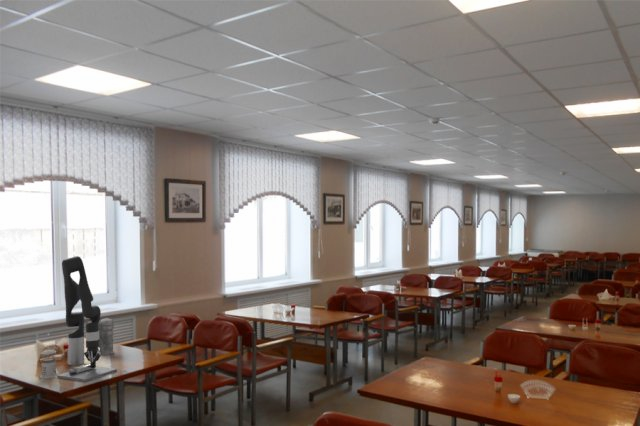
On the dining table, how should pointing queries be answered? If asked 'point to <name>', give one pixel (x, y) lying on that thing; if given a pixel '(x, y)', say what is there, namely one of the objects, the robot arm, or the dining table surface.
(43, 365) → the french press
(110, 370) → the jamb plate
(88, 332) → the robot arm
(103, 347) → the figurine
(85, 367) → the bar
